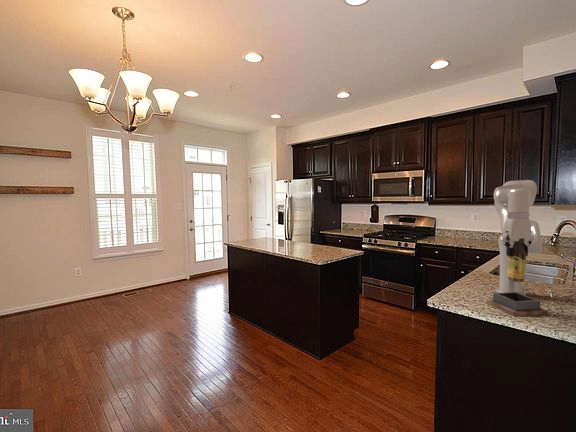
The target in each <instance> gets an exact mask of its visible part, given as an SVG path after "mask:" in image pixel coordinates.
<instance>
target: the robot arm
mask: <svg viewBox="0 0 576 432" xmlns="http://www.w3.org/2000/svg"><path fill="white" fill-rule="evenodd" d="M537 192H538V186H537V183H536V182H535V181H534V180H530V179H525V180H523V179H522V180H521V179H520V180H508V181H505V183H504V184H502V186H498V187H496V188H495V189H494V191H493V200H494V208H495V211H496V213H497V214H498V216H499V218H500V231H501V233H502V235H500V236H499V237H498V239H497V240H498V248H499V285H498V286H499V287H497V288H496V289H495V293H503V292H517V293H520V294H523V295H525V296H527V293H526V292H525V291H530V290H531V289H532V288H531V286H524V285H523V282H514V281H510V280H509V279H508V260H509V256H511V257H513V256H514V248H512V247H513V245H514V242H517V241H519V239H520V238H524V250H525V252H526V257H528V255H529V254H533V255H535V254H539V253H540V252H541V251H542V250H543V241H542V233H541V230H540V226H539V223H538V222H537V221H535V220H533V219H532V220H531V219H530V216H531V214H530V208H531V207H533V205H534V203H535V199H536V196H537Z"/></svg>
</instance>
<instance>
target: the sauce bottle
mask: <svg viewBox="0 0 576 432" xmlns="http://www.w3.org/2000/svg"><path fill="white" fill-rule="evenodd" d="M512 248H514V256H513V257H511V256H509V260H508V279H509V280H510V281H514V282H522V283H523V282H525V279H526V269H527V267H526V265H527V256H526V252H525V250H524V238H520V239H519V241H517V242H514V245H513V247H512Z"/></svg>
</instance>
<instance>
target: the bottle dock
mask: <svg viewBox="0 0 576 432" xmlns="http://www.w3.org/2000/svg"><path fill="white" fill-rule="evenodd" d="M492 296H493V298H492V300H491V299H490V300H488V299H487V300H486V305H489V306H491V307H493V308H495V309H498V310H500V311H502V312H504V313H506V314H508V315H510V316H512V317H520V316H521V317H522V316H523V317H524V316H538V315H539V316H540V315H548V314H549V310H547V309H544V308H543V307H542V308H541V300H539V299H536V298H534V297H530V296H528V295H526V296H525V295H523V294H520V293H517V292H503V293H497V292H493V293H492Z"/></svg>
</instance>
